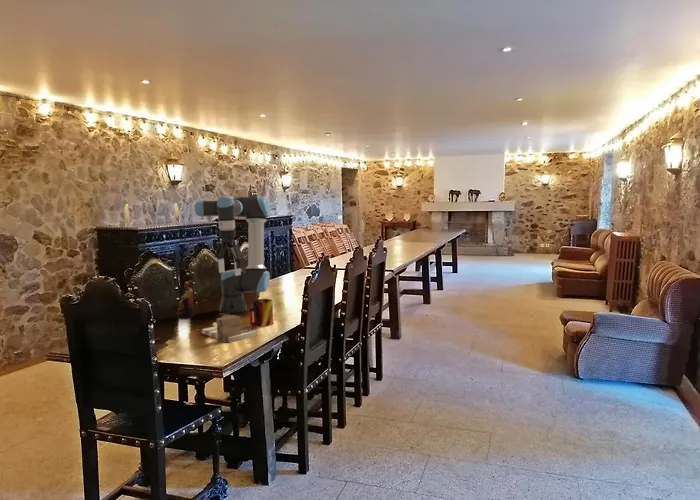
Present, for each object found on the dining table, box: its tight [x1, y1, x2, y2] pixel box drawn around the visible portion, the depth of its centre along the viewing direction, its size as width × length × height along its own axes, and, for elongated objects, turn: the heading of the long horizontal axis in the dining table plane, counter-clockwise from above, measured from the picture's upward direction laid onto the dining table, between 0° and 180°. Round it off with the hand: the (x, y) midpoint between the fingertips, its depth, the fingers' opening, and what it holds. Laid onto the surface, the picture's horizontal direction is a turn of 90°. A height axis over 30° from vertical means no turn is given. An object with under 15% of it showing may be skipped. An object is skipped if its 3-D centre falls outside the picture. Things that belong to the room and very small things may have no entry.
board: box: [201, 325, 258, 343], centre depth 228 cm, size 24×14×2 cm, turn 46°
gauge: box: [216, 314, 253, 343], centre depth 221 cm, size 5×16×10 cm, turn 136°
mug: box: [248, 298, 274, 328], centre depth 243 cm, size 10×14×12 cm
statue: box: [177, 279, 195, 320], centre depth 264 cm, size 12×8×20 cm, turn 0°
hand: (229, 273), depth 235 cm, fingers open, 13 cm apart
